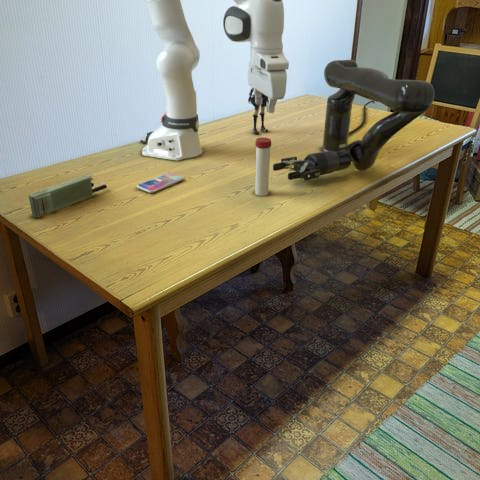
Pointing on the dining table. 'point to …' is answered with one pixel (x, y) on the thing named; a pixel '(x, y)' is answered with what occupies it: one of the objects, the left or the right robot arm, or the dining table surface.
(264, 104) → the figurine
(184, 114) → the left robot arm
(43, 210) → the handheld radio
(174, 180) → the smartphone
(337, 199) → the dining table surface
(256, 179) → the white bottle
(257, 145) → the lid
